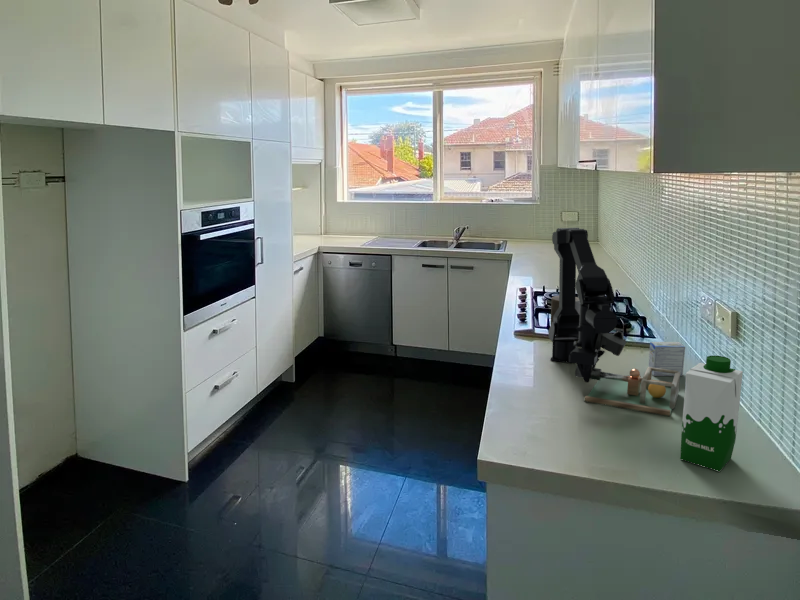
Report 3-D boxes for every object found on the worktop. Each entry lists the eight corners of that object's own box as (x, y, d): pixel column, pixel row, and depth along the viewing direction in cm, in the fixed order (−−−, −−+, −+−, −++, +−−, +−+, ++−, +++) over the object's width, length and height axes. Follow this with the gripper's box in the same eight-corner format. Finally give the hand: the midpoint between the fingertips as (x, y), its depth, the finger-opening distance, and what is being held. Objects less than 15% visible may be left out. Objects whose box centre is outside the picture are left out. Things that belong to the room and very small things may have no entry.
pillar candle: (547, 339, 189) (549, 296, 185) (552, 331, 197) (554, 290, 194) (576, 342, 184) (579, 298, 181) (581, 334, 193) (583, 292, 190)
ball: (661, 403, 134) (644, 395, 136) (663, 397, 138) (646, 390, 139) (667, 388, 133) (650, 381, 135) (669, 383, 136) (652, 376, 138)
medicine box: (676, 371, 155) (679, 341, 153) (683, 376, 151) (685, 346, 149) (647, 370, 156) (649, 341, 154) (653, 376, 152) (655, 346, 150)
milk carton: (737, 458, 107) (748, 360, 103) (723, 476, 101) (734, 373, 97) (689, 444, 113) (698, 351, 109) (672, 460, 107) (681, 362, 103)
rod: (574, 385, 145) (575, 363, 144) (577, 381, 148) (578, 359, 147) (637, 395, 137) (639, 372, 136) (639, 390, 140) (641, 367, 139)
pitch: (584, 401, 136) (585, 377, 135) (601, 376, 153) (602, 354, 151) (672, 417, 126) (674, 391, 125) (679, 388, 143) (681, 364, 141)
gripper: (617, 335, 129) (613, 398, 133) (630, 317, 145) (627, 373, 148) (569, 330, 135) (566, 390, 138) (587, 313, 151) (584, 367, 154)
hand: (588, 380), depth 145 cm, fingers closed on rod, 3 cm apart
